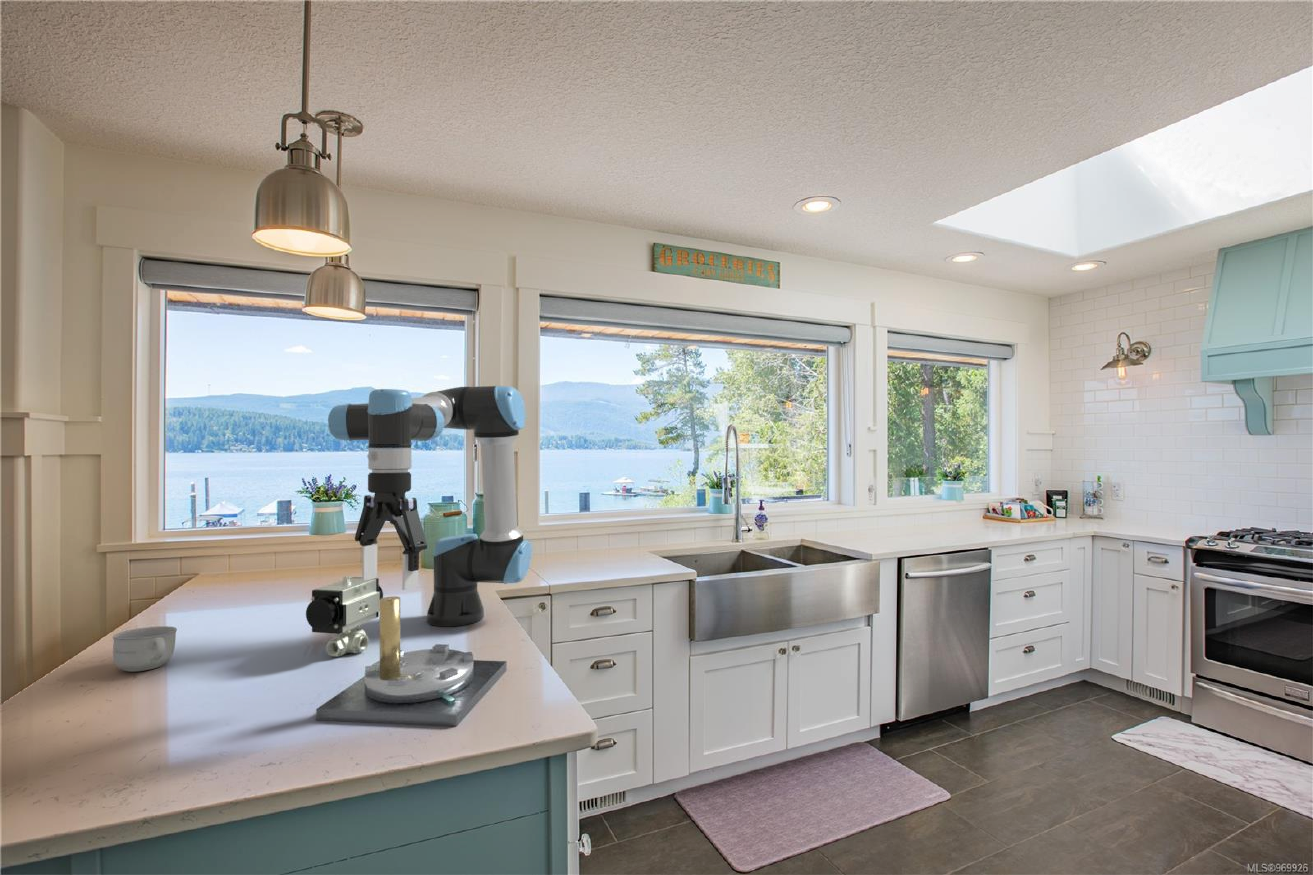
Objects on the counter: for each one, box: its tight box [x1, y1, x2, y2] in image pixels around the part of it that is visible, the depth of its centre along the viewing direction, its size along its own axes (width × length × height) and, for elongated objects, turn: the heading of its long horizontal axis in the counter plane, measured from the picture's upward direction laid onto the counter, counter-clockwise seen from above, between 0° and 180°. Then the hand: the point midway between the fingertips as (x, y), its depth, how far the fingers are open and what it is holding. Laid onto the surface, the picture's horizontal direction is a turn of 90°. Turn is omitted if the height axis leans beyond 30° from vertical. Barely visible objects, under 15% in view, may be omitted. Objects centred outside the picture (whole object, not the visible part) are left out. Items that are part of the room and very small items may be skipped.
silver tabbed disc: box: [364, 596, 474, 703], centre depth 122 cm, size 20×20×18 cm
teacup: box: [112, 625, 178, 673], centre depth 135 cm, size 14×11×8 cm
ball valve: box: [305, 575, 384, 657], centre depth 145 cm, size 18×8×18 cm, turn 168°
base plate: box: [315, 659, 508, 727], centre depth 122 cm, size 26×26×3 cm
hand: (389, 583), depth 116 cm, fingers open, 13 cm apart
